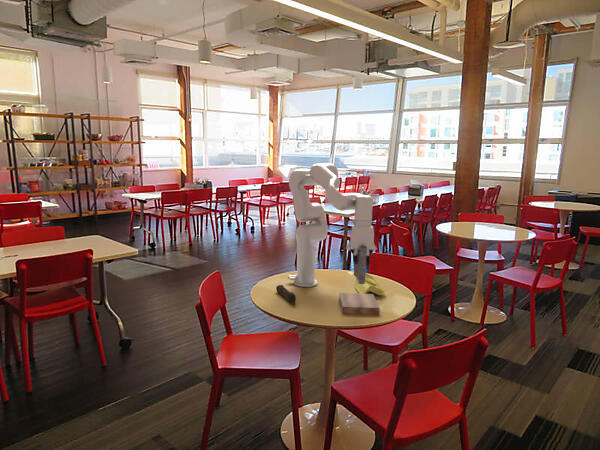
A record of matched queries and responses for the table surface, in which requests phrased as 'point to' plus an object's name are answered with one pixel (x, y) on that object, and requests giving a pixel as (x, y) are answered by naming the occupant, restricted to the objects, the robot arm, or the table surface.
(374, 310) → the brown flat square piece
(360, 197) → the robot arm
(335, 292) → the table surface
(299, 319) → the table surface
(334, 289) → the table surface
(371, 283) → the plastic component
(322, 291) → the table surface
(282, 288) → the hand tool
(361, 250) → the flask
